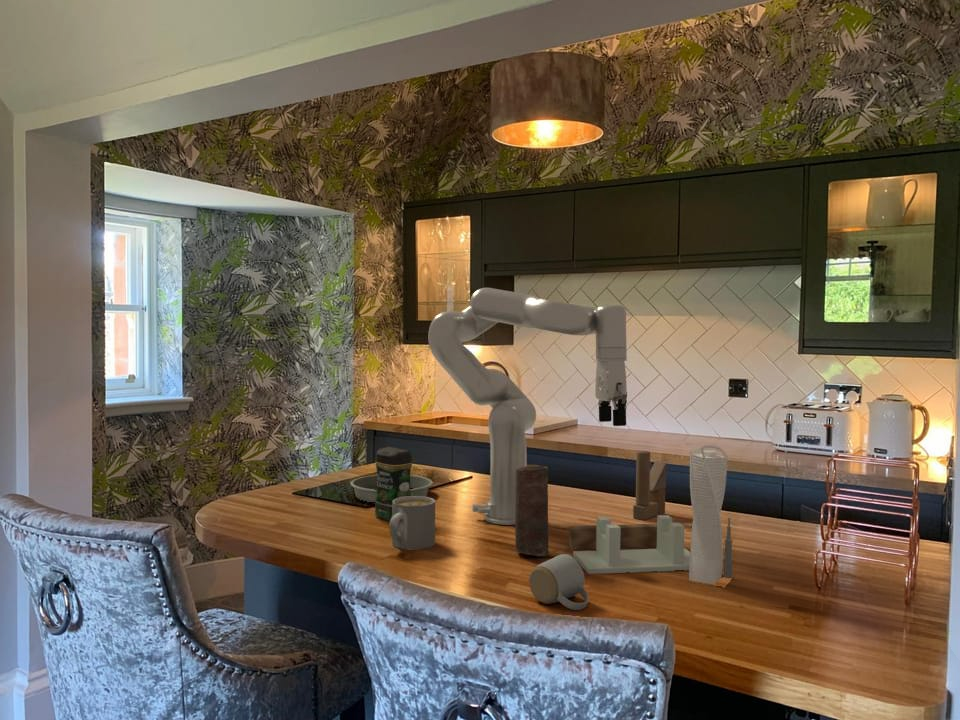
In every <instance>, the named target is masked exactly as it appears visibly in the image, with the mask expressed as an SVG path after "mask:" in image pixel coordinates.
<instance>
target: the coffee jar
mask: <svg viewBox="0 0 960 720" xmlns="http://www.w3.org/2000/svg"><path fill="white" fill-rule="evenodd" d="M412 457H413V456H412V453H411V451H409V450H408V449H401V448H398V447H391V446H388V447H380V448H378V450H377V451H376V454H375V468H376V475H377V492H376V503H374V505H375V507H374V508H375V509H374V513H375V514H374V515H375V516H376V517H377V518H380V519H382V520H387V521H390V520H391V518H392V502H393V500H394V499H396V498H400V497H407V496H411V490H410V475H411V470H412V466H413V458H412Z"/></svg>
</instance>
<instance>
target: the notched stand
mask: <svg viewBox="0 0 960 720" xmlns="http://www.w3.org/2000/svg"><path fill="white" fill-rule="evenodd" d="M656 518H657V519H656V520H657V521H656V522H657V523H656V524H657V547H656V548H645V549H644V548H643V549H640V548H639V549H637V548H636V549H621V548H620V533H621V528H620V527H619V526H618V525H619V524H616V523H615V524H612V520H611V518H610V517H608V516H597V517H596V549H595V550H580V551H579V550H578V551H577V550H576V551H575V550H572V557H573V558H575V560H576V561H577V562H578V563H579V564H580V566H581V568H582V569H584V571H585V572H586V573H587V574H589V575H595V574H596V575H597V574H623V573H624V574H625V573H626V572H629V573H649V572H650V573H651V572H652V571H653V573H654V571H657V572H676V571H675V570H684V571H689V570H690V550H688V549H687V548H685V527H686V526H685V525H684V524H682V523H681V522H673V517H671V516H670V515H668V514H666V515H665V514H662V515H657V516H656Z"/></svg>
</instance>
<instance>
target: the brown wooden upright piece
mask: <svg viewBox="0 0 960 720" xmlns="http://www.w3.org/2000/svg"><path fill="white" fill-rule="evenodd" d="M635 462H636V466H635V468H636V470H635V472H636V473H635V475H636V476H635V504H633V508H632V511H633V512H632V518H633V519H636V520H642V521H646V520H649V519H652V518H655V517H656V518H657V515H665V513H666V487H667V462H664V461H663V462H662V461H658V460H657V461H656V460H655V461H654V462H653V464H652V466H651V452H650V451H648V450H638V451H636V461H635Z"/></svg>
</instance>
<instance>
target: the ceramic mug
mask: <svg viewBox="0 0 960 720" xmlns="http://www.w3.org/2000/svg"><path fill="white" fill-rule="evenodd" d="M529 573H530V574H529V578H528V583H529V585H528V586H529V588H530V591H531V593H532V595H533V597H535V599H536V600H537V601H538V602H540V603H542V604H546V605H551V604H556V603H558V602H559V603H560V604H561V605H562V606H563V607H566V608H567V609H568V610H569V609H570V610H572V611H581V610H584V609H585V608H586V606H587V605H588V602H589V600H590V598H589V593H588V592H587V589H585V587H584V586H585V574H584V571H583V567H582V566H581V565H580V564H579V562H578V561H577V560H576V559H575V558H574V557H573V555H570V554H565V553H563V554H558V555H556V556H554V557H553V558H550V559H547V560H546V561H543V562H541V563H540V564H538V565H536V566H535V567H533V569H532V570H531V571H530V572H529ZM578 594H580V596H581V597H582V598H583V600H584V602H574V601H571V600H569V598H572V597H575V596H576V595H577V596H578Z"/></svg>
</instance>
